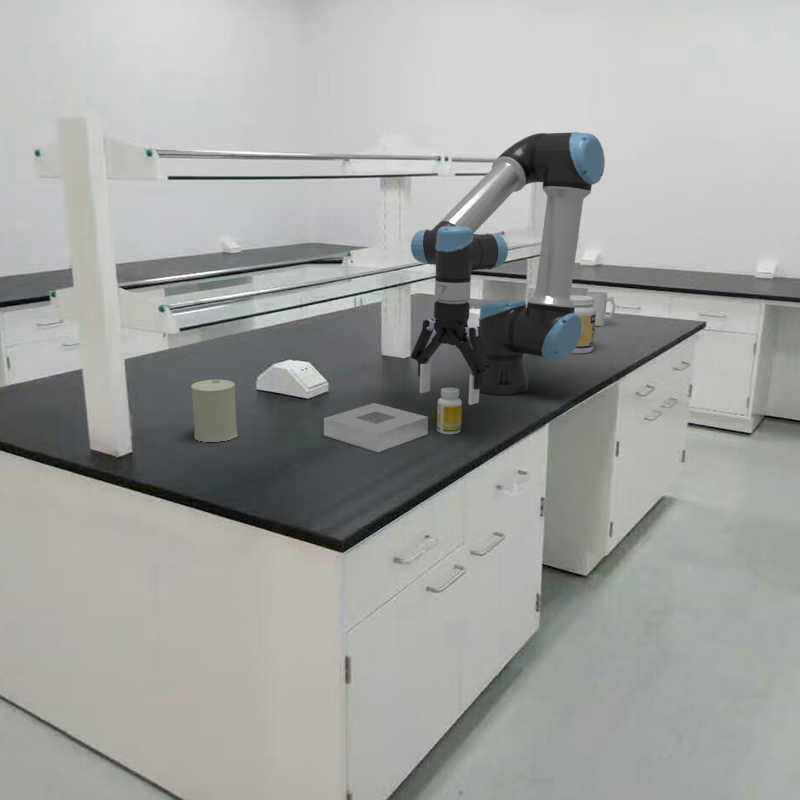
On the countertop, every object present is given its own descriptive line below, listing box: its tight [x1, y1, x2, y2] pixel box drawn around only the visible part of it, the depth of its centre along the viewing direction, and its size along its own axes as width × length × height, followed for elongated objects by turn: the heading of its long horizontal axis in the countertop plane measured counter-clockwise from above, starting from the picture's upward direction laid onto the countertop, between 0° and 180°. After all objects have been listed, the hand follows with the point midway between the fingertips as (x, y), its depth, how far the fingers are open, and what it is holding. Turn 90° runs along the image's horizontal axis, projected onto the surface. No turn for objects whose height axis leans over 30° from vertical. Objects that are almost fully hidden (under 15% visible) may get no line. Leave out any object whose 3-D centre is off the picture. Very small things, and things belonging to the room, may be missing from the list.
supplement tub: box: [570, 294, 596, 355], centre depth 263 cm, size 12×12×17 cm
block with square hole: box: [323, 402, 429, 453], centre depth 181 cm, size 16×16×4 cm
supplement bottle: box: [436, 386, 463, 435], centre depth 184 cm, size 5×5×10 cm
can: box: [190, 379, 239, 443], centre depth 179 cm, size 9×9×12 cm
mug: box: [587, 290, 616, 326], centre depth 304 cm, size 10×7×12 cm, turn 63°
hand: (448, 397), depth 183 cm, fingers open, 13 cm apart
